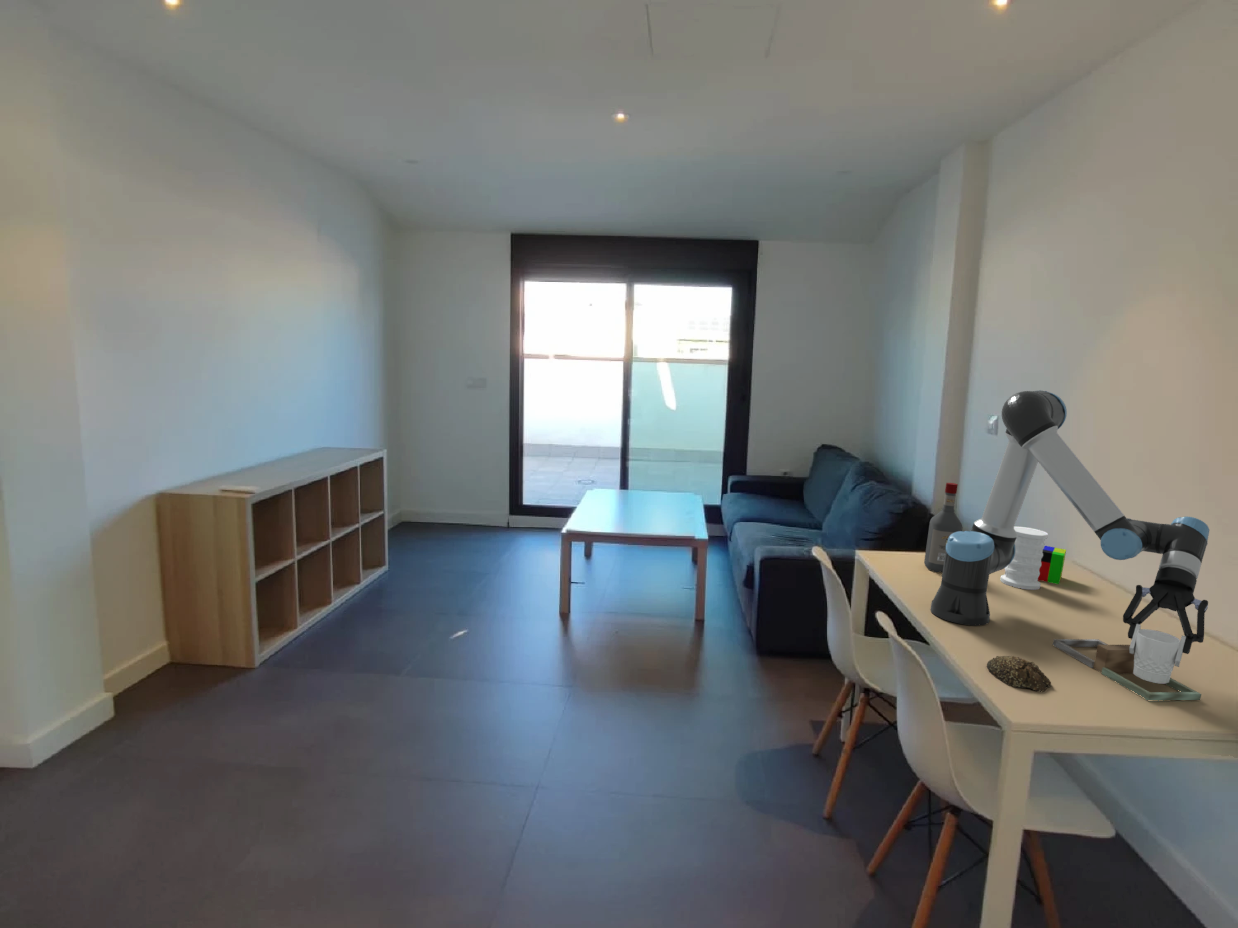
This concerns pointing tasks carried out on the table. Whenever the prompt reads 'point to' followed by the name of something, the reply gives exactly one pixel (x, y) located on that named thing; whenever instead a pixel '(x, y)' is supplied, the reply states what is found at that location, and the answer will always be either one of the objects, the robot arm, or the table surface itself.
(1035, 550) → the decorative container
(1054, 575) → the puzzle toy
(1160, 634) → the white cup
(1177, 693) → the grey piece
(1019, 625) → the table surface
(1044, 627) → the table surface
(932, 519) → the liquor
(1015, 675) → the bread roll
